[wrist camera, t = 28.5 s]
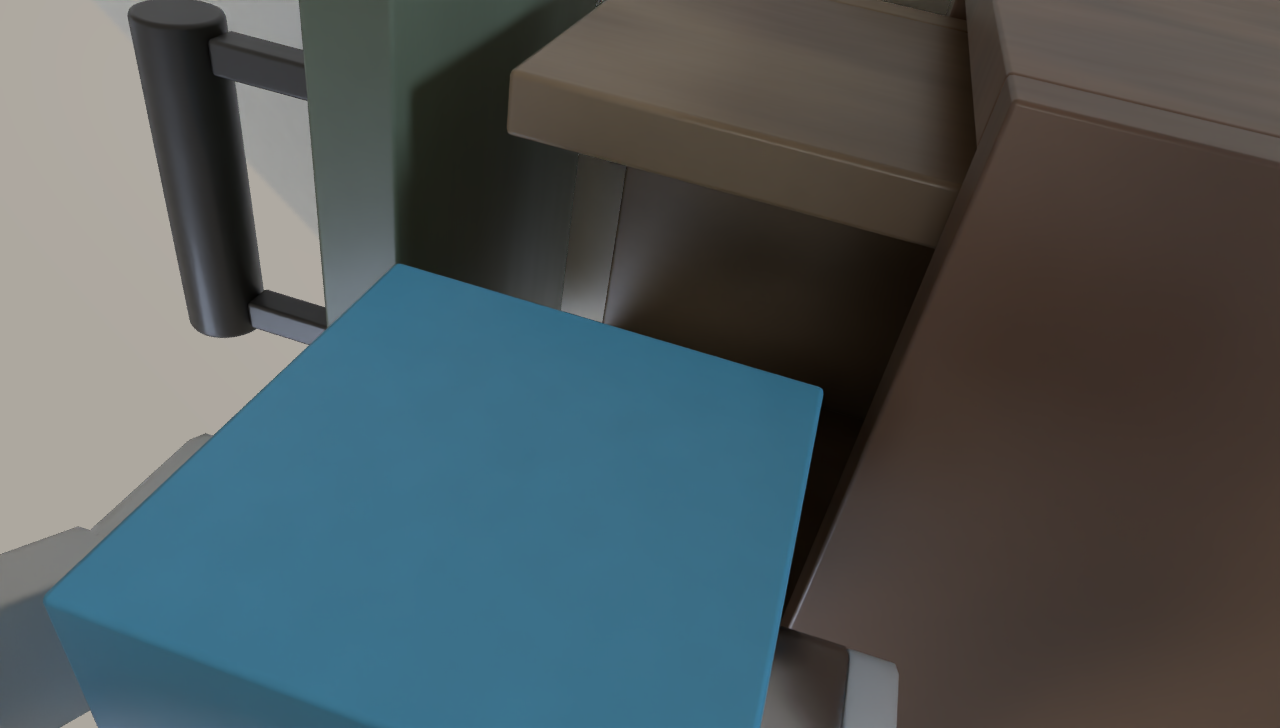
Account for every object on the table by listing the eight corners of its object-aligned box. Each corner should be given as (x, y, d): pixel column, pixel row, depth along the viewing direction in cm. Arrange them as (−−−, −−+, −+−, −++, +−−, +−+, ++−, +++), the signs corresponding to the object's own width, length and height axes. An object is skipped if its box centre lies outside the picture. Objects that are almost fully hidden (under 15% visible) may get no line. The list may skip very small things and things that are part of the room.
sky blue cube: (403, 545, 13) (168, 893, 9) (396, 259, 10) (33, 598, 6) (727, 656, 12) (624, 1084, 8) (825, 386, 9) (738, 860, 5)
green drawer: (337, 283, 23) (112, 481, 16) (303, -180, 16) (-83, -137, 10) (1051, 498, 20) (1098, 824, 14) (1336, 53, 14) (1645, 293, 8)
